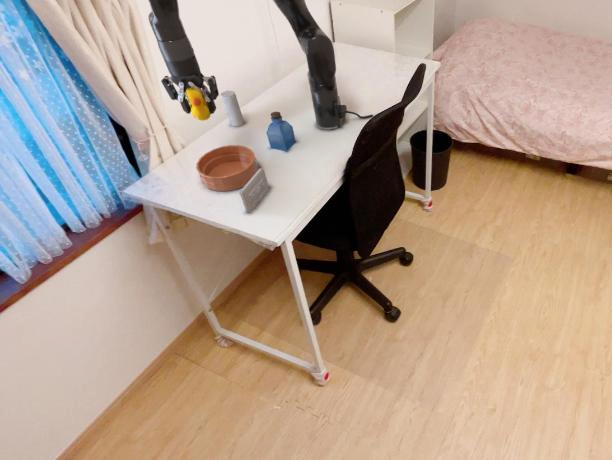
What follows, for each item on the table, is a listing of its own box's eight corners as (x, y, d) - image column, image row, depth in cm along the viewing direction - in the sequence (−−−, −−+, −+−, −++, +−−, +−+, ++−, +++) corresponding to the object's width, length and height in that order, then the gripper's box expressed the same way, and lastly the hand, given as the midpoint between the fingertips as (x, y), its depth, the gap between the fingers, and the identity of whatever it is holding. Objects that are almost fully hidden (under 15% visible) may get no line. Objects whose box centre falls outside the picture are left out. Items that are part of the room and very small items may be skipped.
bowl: (264, 159, 144) (260, 145, 140) (250, 192, 132) (245, 177, 128) (213, 159, 144) (207, 145, 140) (194, 192, 131) (187, 177, 128)
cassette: (265, 187, 133) (259, 166, 128) (271, 188, 133) (264, 167, 128) (245, 212, 125) (237, 191, 120) (251, 213, 125) (243, 193, 119)
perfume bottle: (296, 141, 151) (288, 111, 143) (286, 151, 147) (278, 120, 139) (280, 138, 153) (272, 107, 144) (270, 148, 148) (262, 116, 140)
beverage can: (240, 128, 158) (230, 97, 149) (228, 126, 158) (217, 96, 150) (246, 121, 161) (237, 91, 153) (235, 119, 162) (225, 89, 153)
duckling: (216, 125, 122) (204, 93, 115) (196, 130, 120) (182, 97, 113) (212, 107, 129) (200, 75, 122) (193, 111, 128) (179, 79, 121)
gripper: (144, 60, 109) (171, 119, 121) (201, 59, 109) (222, 118, 121) (156, 48, 114) (181, 106, 126) (210, 48, 115) (230, 105, 126)
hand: (201, 112), depth 124 cm, fingers closed on duckling, 6 cm apart
